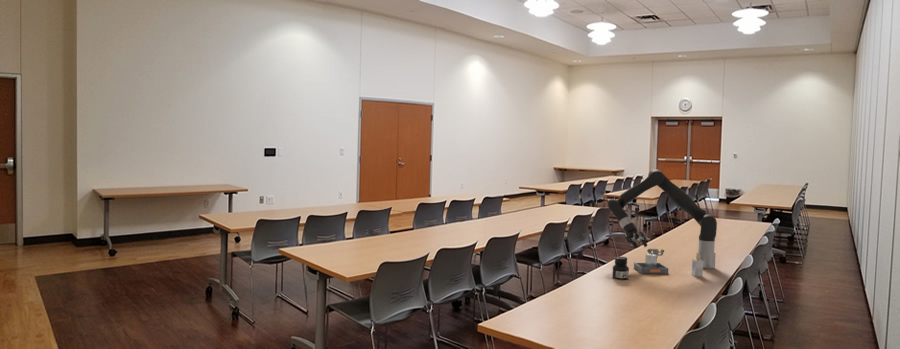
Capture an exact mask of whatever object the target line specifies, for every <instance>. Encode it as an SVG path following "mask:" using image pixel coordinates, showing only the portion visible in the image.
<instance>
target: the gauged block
mask: <svg viewBox="0 0 900 349" xmlns="http://www.w3.org/2000/svg"><path fill="white" fill-rule="evenodd" d="M695 255H696V256H695V258H692V261H691V276H692V277H696V278H699V277H700V278H701V277H703V275H704V274H703V273H704V268H703V260H701V259H700V253H698V252H696V254H695Z"/></svg>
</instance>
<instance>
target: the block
mask: <svg viewBox="0 0 900 349" xmlns="http://www.w3.org/2000/svg"><path fill="white" fill-rule="evenodd" d="M657 260H658V258H657V255H654V254H649V253H647V254H645V260H644V261H645V262H644V263H645V268H656V262H657ZM657 263H658V262H657Z"/></svg>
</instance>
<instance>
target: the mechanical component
mask: <svg viewBox="0 0 900 349" xmlns="http://www.w3.org/2000/svg"><path fill="white" fill-rule="evenodd" d="M646 251H647V252H648V253H647V254H654V255H657V259H658V257H661V256H663V255H664V253H665V249H663V248H662V249H660V251H659V249H658V248H648V249H647V250H646ZM656 263H658V262H656Z"/></svg>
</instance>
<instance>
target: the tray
mask: <svg viewBox="0 0 900 349" xmlns="http://www.w3.org/2000/svg"><path fill="white" fill-rule="evenodd" d="M633 269H634V270H635V271H637V272H638V273H640V274H641V275H669V267H667V266H666V265H664V264H662V263H660V262H657V263H656V268H645V262H633Z"/></svg>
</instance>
